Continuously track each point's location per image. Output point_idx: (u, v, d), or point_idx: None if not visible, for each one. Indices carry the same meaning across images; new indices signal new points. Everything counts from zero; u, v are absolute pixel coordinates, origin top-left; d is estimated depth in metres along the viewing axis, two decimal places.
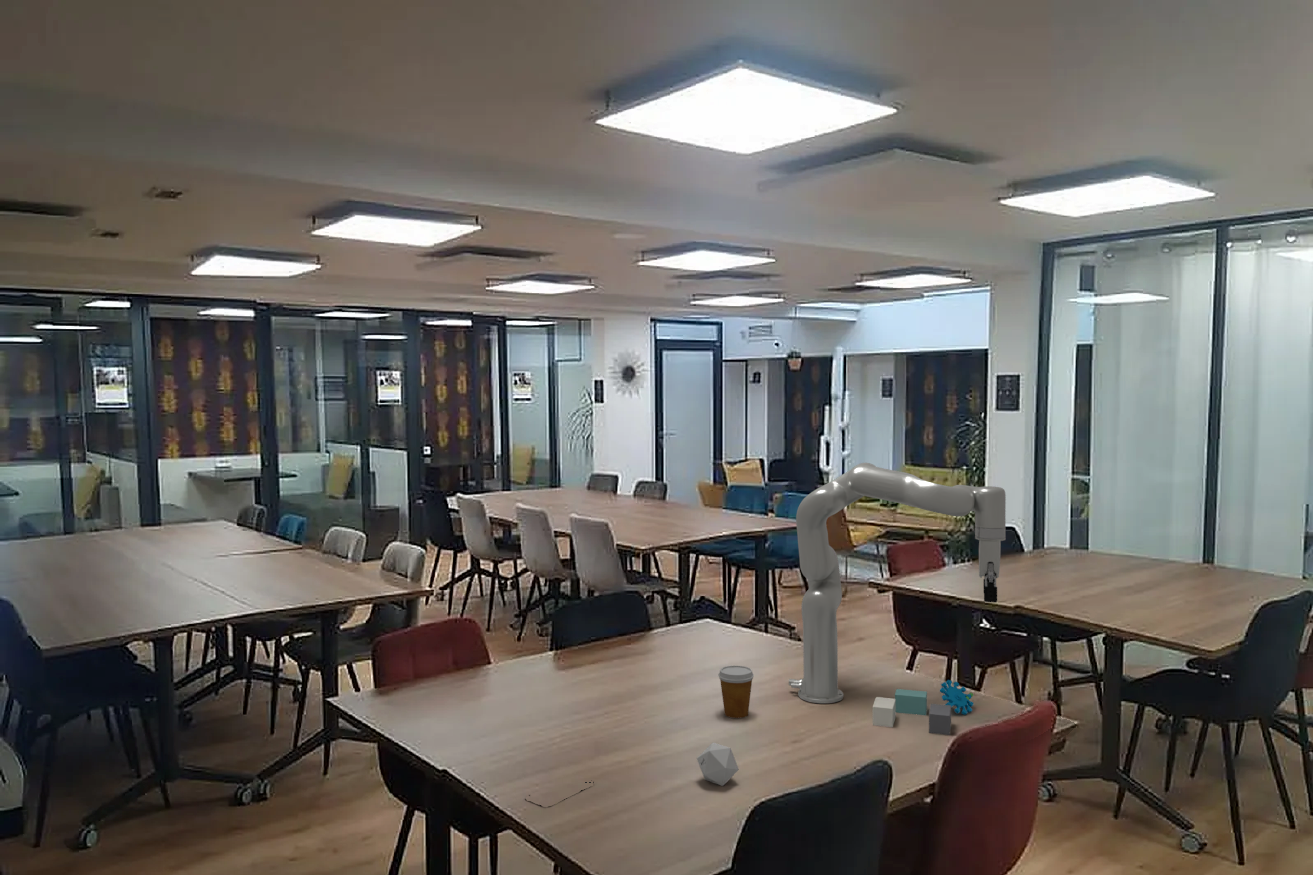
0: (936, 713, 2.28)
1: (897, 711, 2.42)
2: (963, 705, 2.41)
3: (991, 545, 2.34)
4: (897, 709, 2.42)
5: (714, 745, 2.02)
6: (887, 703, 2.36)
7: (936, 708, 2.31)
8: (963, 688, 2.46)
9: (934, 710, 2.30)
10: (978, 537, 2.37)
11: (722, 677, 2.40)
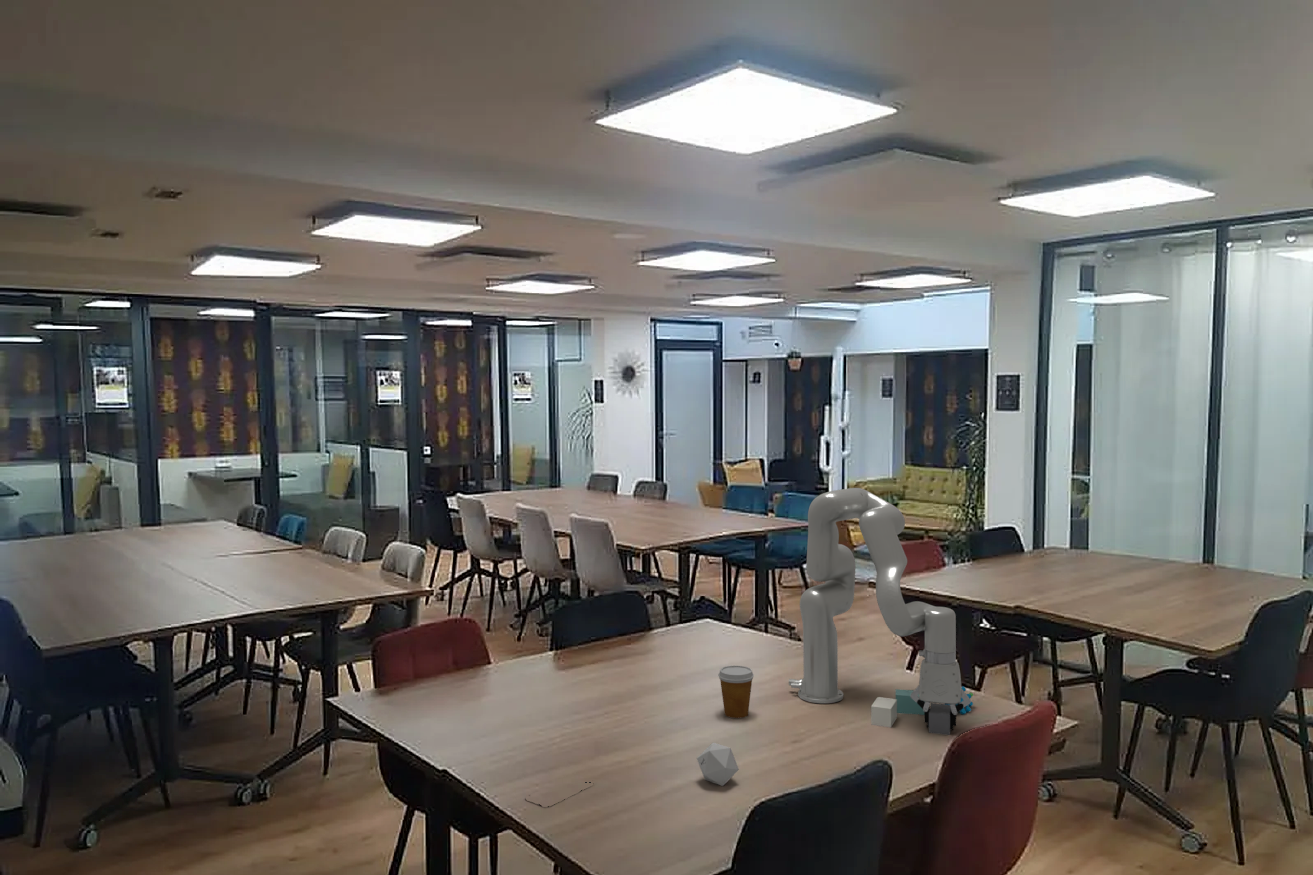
0: (936, 712, 2.28)
1: (898, 711, 2.42)
2: None
3: None
4: (898, 709, 2.42)
5: (714, 745, 2.02)
6: (887, 703, 2.36)
7: (936, 708, 2.31)
8: (963, 688, 2.46)
9: (934, 709, 2.30)
10: (949, 664, 2.26)
11: (722, 677, 2.40)
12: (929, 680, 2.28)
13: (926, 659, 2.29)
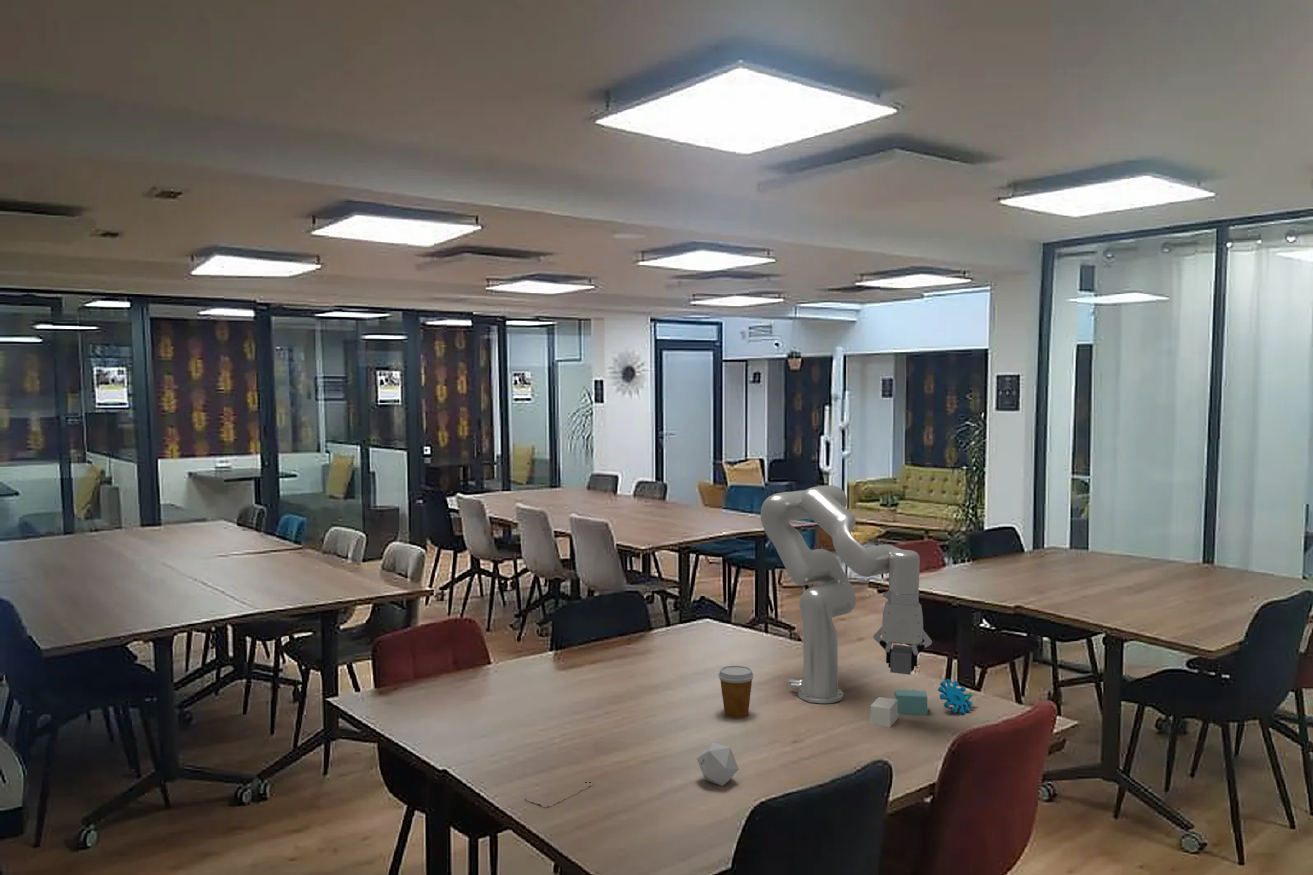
0: (898, 652, 2.31)
1: (899, 712, 2.42)
2: (961, 704, 2.42)
3: None
4: (898, 710, 2.42)
5: (714, 745, 2.02)
6: (887, 703, 2.36)
7: (898, 648, 2.35)
8: (963, 688, 2.46)
9: (896, 650, 2.34)
10: (911, 605, 2.29)
11: (722, 677, 2.40)
12: (892, 621, 2.31)
13: (889, 600, 2.32)
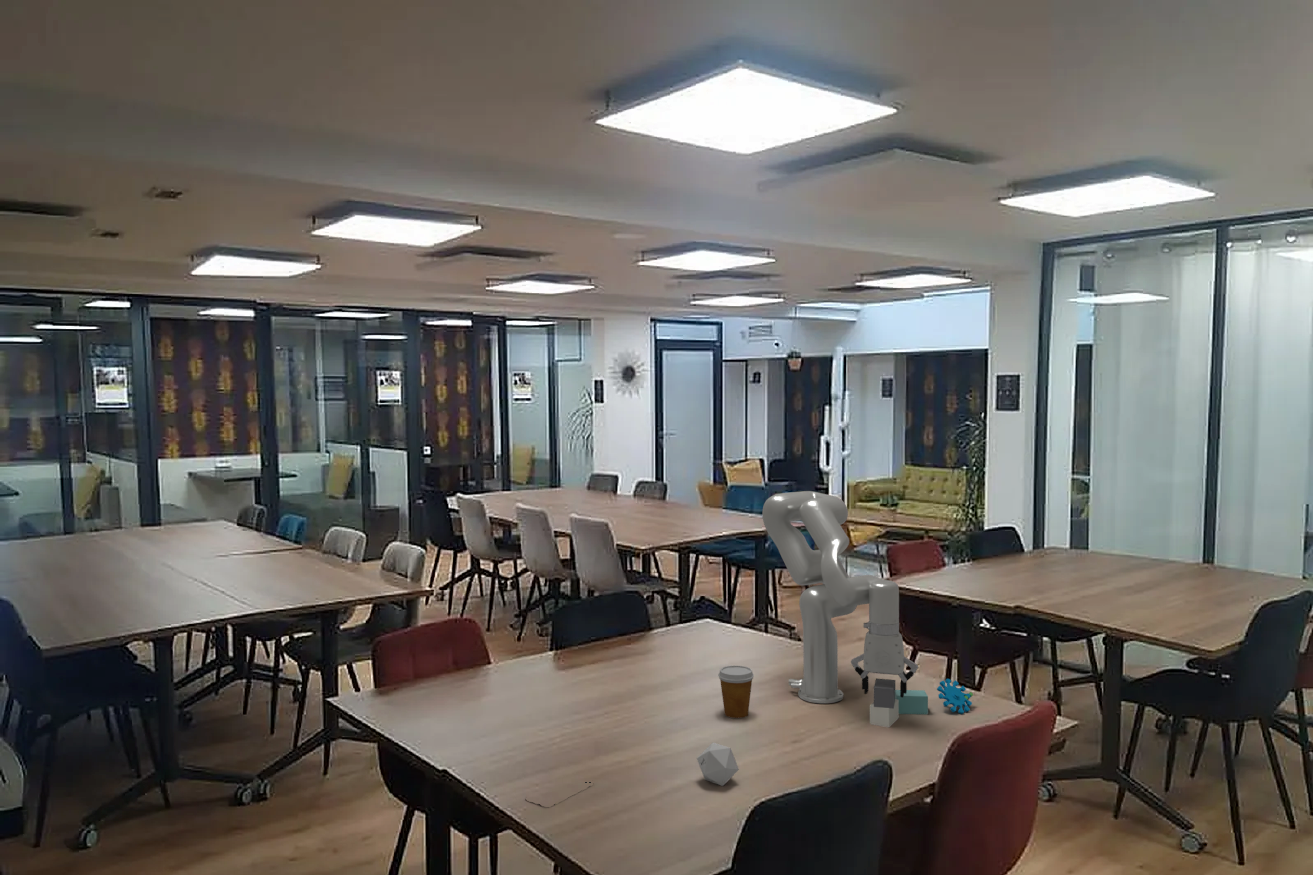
0: (880, 686, 2.33)
1: (899, 712, 2.41)
2: (960, 704, 2.42)
3: None
4: (899, 710, 2.41)
5: (714, 745, 2.02)
6: None
7: (881, 682, 2.37)
8: (962, 687, 2.46)
9: (879, 684, 2.36)
10: (891, 635, 2.32)
11: (722, 677, 2.40)
12: (873, 651, 2.34)
13: (870, 631, 2.35)
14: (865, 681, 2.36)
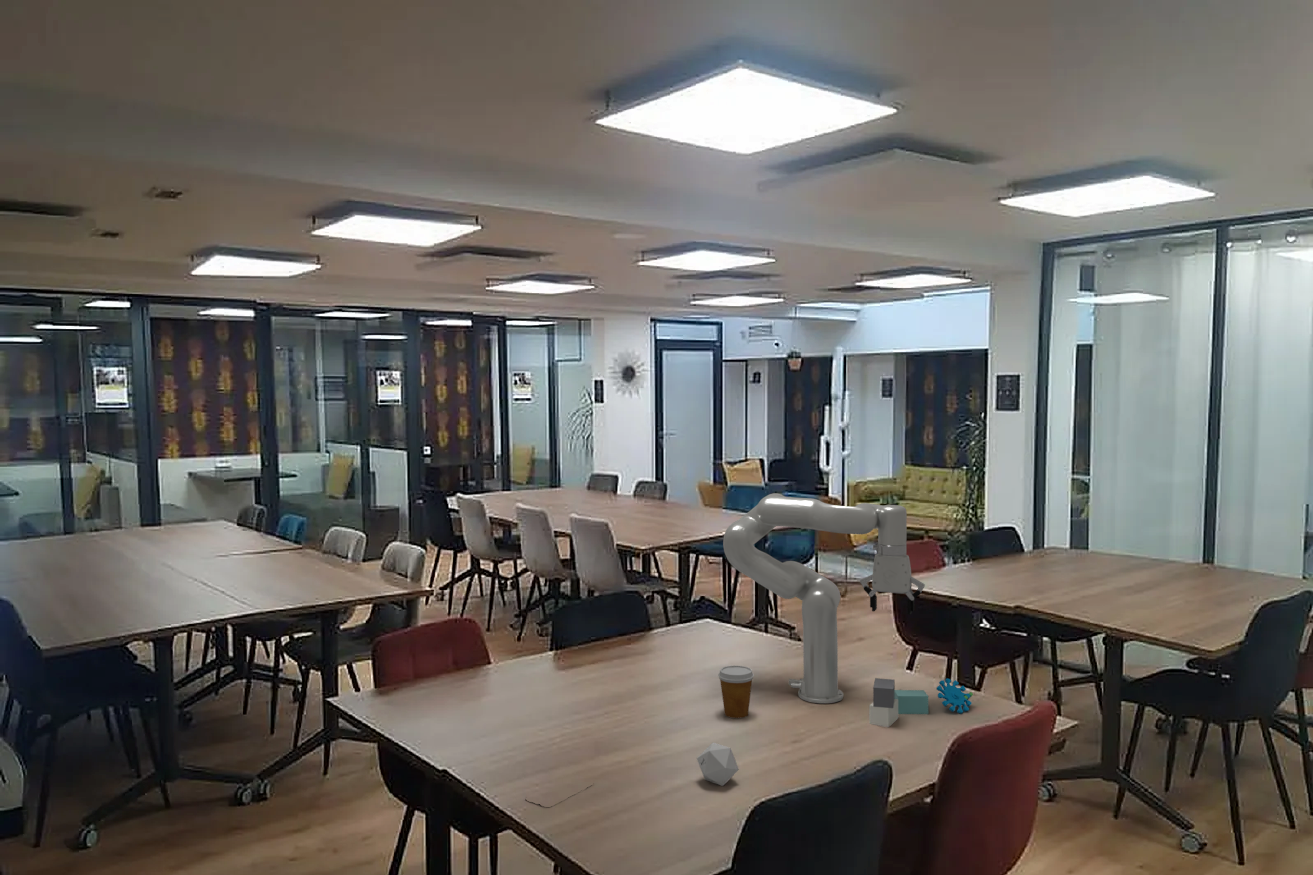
0: (880, 686, 2.33)
1: (900, 712, 2.41)
2: (959, 704, 2.42)
3: None
4: (900, 710, 2.41)
5: (714, 745, 2.02)
6: None
7: (880, 682, 2.37)
8: (962, 687, 2.46)
9: (878, 683, 2.36)
10: (898, 555, 2.45)
11: (722, 677, 2.40)
12: (881, 571, 2.47)
13: (879, 552, 2.48)
14: (873, 599, 2.49)
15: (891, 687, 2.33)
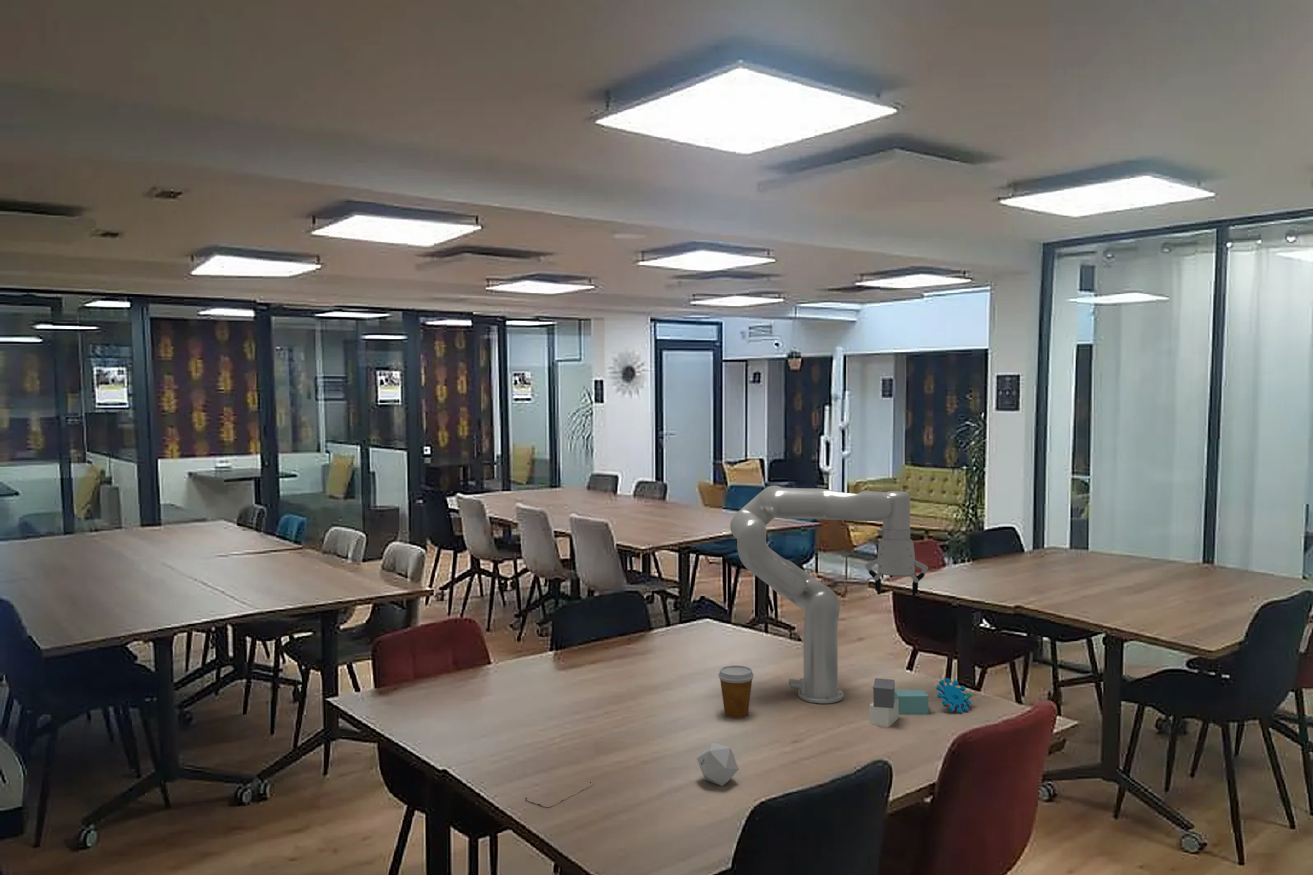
0: (880, 686, 2.33)
1: (901, 713, 2.41)
2: (959, 704, 2.42)
3: None
4: (901, 711, 2.41)
5: (714, 745, 2.02)
6: None
7: (880, 682, 2.37)
8: (962, 687, 2.46)
9: (879, 684, 2.36)
10: (903, 539, 2.53)
11: (722, 677, 2.40)
12: (886, 555, 2.55)
13: (884, 537, 2.56)
14: (878, 582, 2.57)
15: (891, 687, 2.33)
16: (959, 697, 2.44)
